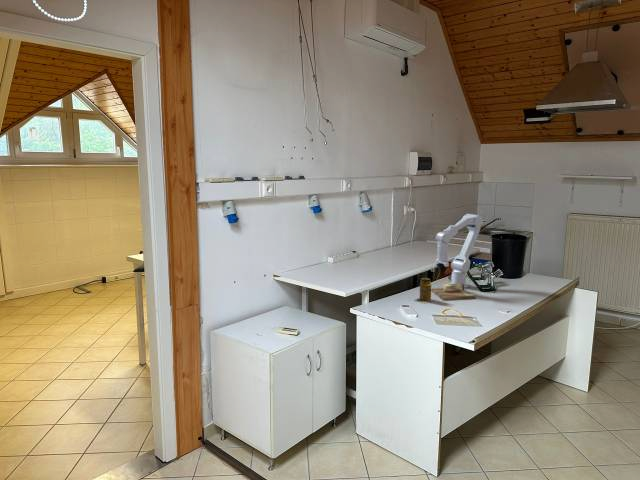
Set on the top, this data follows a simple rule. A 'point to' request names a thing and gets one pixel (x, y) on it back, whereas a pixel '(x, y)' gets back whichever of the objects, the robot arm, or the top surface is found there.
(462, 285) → the folding leg
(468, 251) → the robot arm
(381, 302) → the top surface
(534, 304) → the top surface
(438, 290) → the stool seat
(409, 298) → the top surface
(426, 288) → the condiment
